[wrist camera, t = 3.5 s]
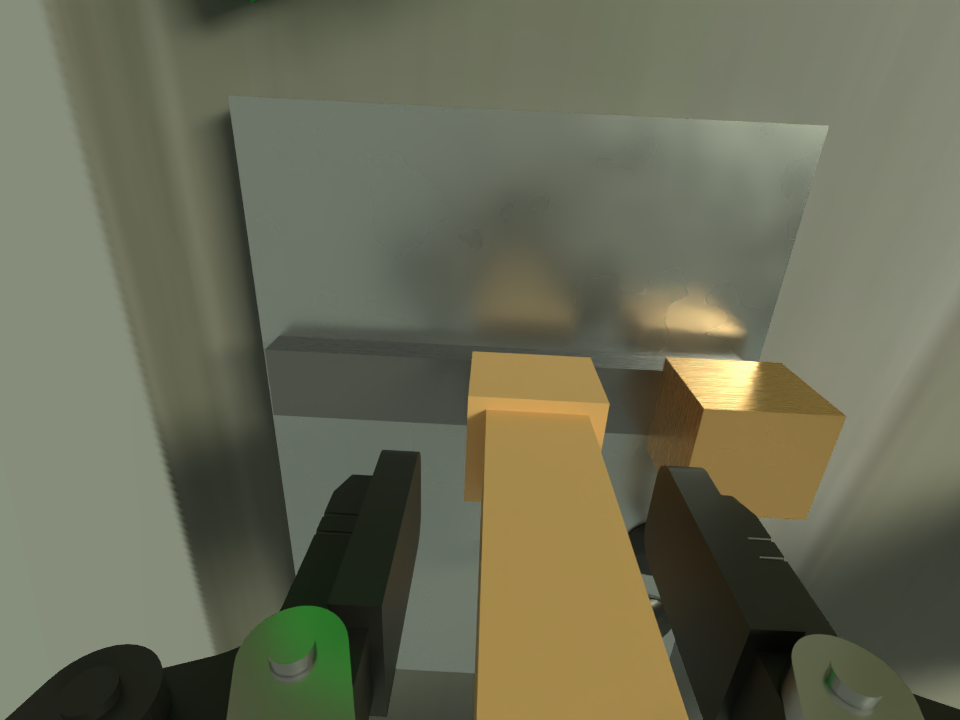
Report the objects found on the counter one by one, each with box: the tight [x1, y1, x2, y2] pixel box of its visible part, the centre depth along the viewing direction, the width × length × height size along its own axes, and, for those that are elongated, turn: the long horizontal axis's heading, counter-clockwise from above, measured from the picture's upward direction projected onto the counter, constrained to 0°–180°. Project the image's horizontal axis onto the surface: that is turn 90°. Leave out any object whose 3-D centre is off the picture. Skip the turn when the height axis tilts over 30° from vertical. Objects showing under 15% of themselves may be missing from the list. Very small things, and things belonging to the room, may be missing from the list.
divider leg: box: [464, 351, 689, 720], centre depth 11 cm, size 3×8×10 cm, turn 177°
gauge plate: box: [228, 96, 846, 673], centre depth 15 cm, size 14×20×5 cm
